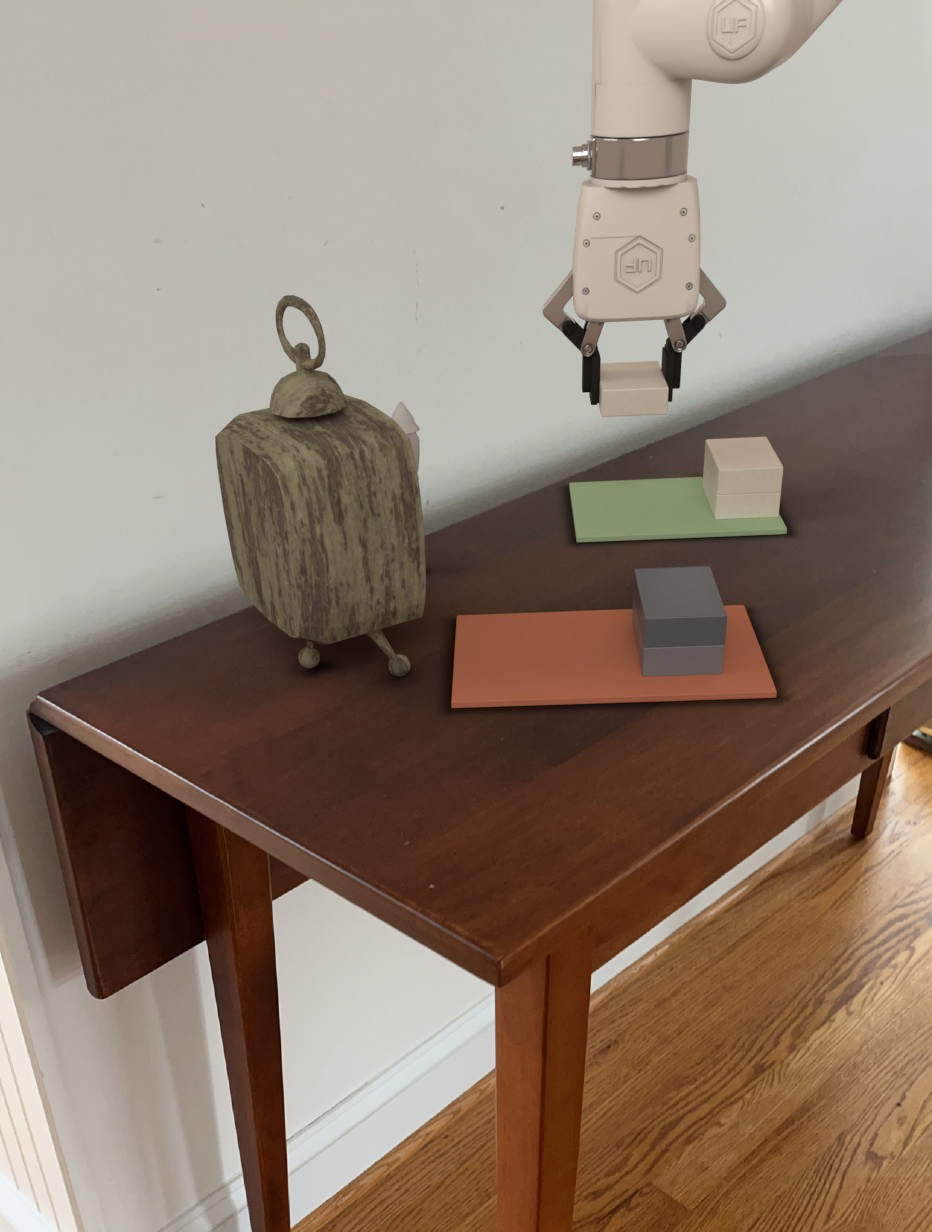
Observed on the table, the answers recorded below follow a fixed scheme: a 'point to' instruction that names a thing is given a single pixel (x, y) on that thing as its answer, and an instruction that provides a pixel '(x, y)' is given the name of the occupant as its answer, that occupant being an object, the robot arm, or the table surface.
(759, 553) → the table surface
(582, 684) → the terracotta rectangular mat
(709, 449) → the beige lidded box
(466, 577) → the table surface
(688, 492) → the green mat
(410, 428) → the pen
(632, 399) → the cream flat block
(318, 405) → the tabletop clock
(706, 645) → the grey blocks
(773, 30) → the robot arm
